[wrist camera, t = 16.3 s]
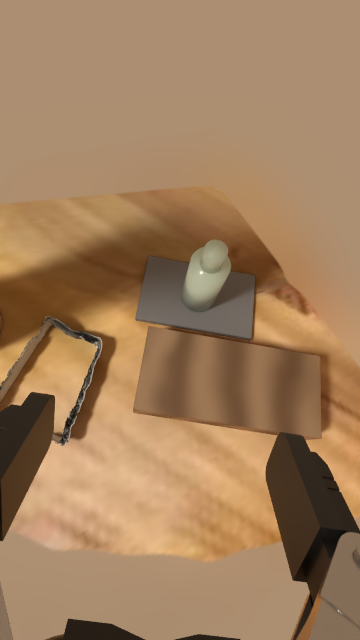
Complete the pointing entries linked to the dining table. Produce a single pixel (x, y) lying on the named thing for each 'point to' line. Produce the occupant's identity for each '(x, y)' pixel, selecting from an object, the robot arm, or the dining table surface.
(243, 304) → the charcoal mat
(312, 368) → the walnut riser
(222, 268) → the celadon bottle
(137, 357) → the dining table surface
